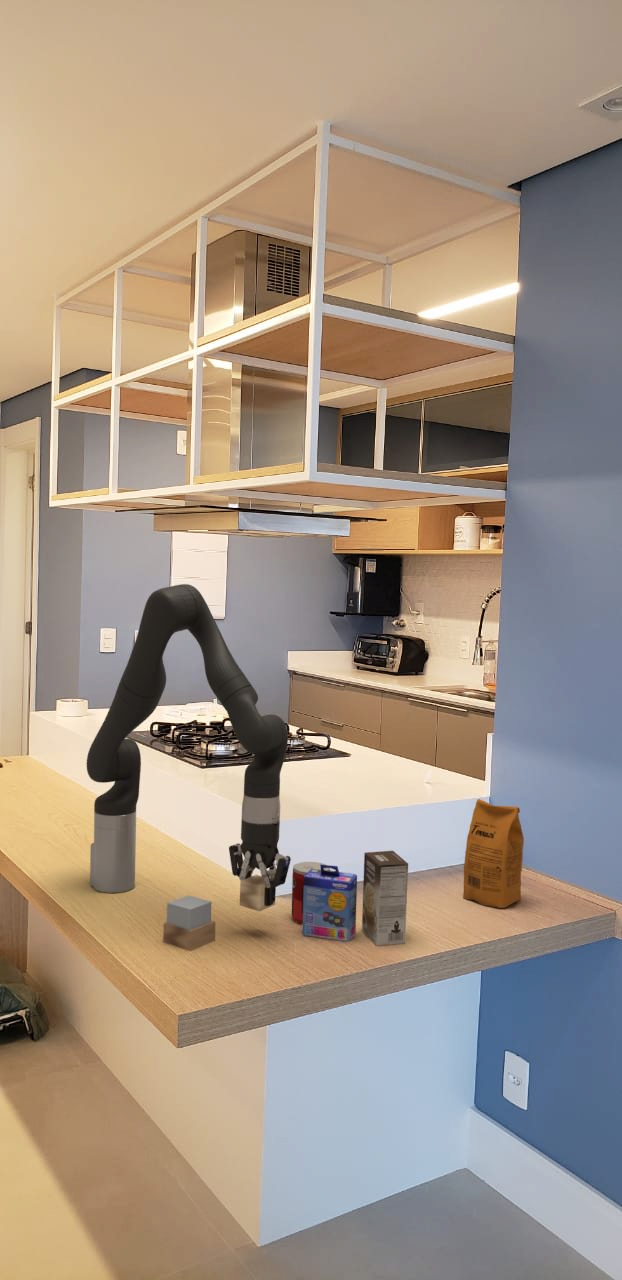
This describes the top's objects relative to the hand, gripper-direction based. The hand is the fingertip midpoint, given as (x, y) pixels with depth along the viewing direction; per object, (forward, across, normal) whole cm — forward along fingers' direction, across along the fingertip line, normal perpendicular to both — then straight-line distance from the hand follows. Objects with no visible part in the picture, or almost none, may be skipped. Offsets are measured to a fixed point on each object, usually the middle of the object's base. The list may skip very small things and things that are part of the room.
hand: (257, 901), depth 197 cm
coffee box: (+6, +21, +14) cm, 26 cm away
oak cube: (+1, 0, 0) cm, 1 cm away
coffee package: (+6, +28, +49) cm, 57 cm away
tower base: (+7, -8, -11) cm, 15 cm away
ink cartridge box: (+7, +12, +8) cm, 16 cm away
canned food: (+7, +4, +14) cm, 16 cm away
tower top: (+3, -8, -12) cm, 14 cm away
